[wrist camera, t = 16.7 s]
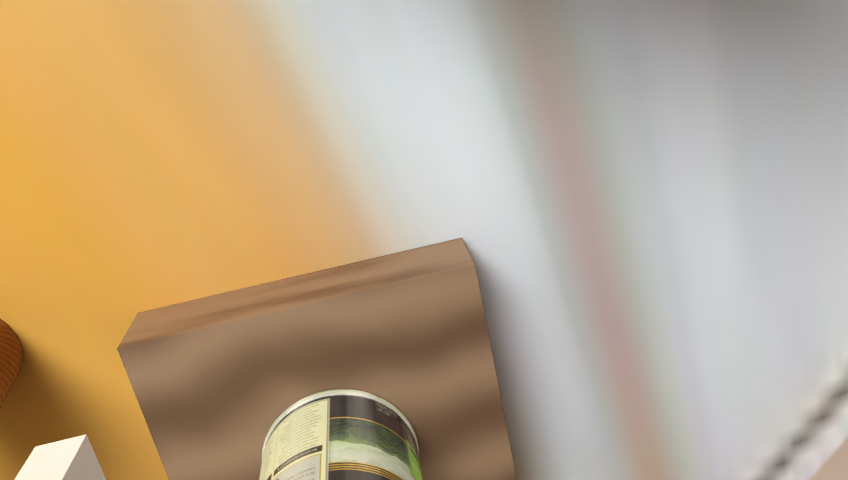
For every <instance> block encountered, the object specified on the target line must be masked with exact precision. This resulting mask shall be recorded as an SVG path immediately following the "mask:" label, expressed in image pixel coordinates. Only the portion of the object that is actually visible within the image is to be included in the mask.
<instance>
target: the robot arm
mask: <svg viewBox="0 0 848 480" xmlns="http://www.w3.org/2000/svg"><path fill="white" fill-rule="evenodd" d="M14 480H106V478H105V476H104V474H103V471H102V469H101V467H100V464H99V462H98V460H97V457H96V455H95V453H94V450H93V448H92V446H91V444H90V441H89V439H88V437H87V434H86V435H82V436H77V437H73V438H69V439H65V440H61V441H56V442H52V443H48V444H44V445H40V446H35V448H34V450H33V451H32V453H31V454H30V456H29V457H28V459H27V461H26V462H25V464H24V465H23V467H22V468H21V470H20V472H19V473H18V475H17V476H16V478H15V479H14Z"/></svg>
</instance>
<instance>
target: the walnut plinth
mask: <svg viewBox="0 0 848 480" xmlns="http://www.w3.org/2000/svg"><path fill="white" fill-rule="evenodd" d="M117 349H118V352H119V354H120V357H121V359H122V362H123V364H124V367H125V369H126V372H127V375H128V377H129V380H130V382H131V385H132V387H133V390H134V392H135V395H136V397H137V400H138V402H139V405H140V407H141V410H142V412H143V415H144V417H145V420H146V422H147V425H148V428H149V430H150V433H151V435H152V438H153V440H154V443H155V445H156V448H157V450H158V453H159V455H160V458H161V460H162V463H163V465H164V468H165V470H166V473H167V476H168V478H169V480H259V477H260V471H261V464H262V448H263V445H264V441H265V438H266V436H267V433H268V432H269V430H270V428H271V426H272V424H273V423H274V421H275V420H276V419H277V418H278V417H279V416H280V415H281V414H282V413H283V412H284V411H285V410H286V409H287V408H289V407H290V406H291V405H293V404H294V403H296V402H297V401H299V400H301V399H303V398H305V397H307V396H310V395H312V394H315V393H318V392H322V391H327V390H335V389H352V390H359V391H364V392H368V393H371V394H374V395H376V396H379V397H381V398H383V399H385V400H387V401H388V402H390V403H391V404H393V405H394V406H395V407H396V408H397V409H399V410H400V411H401V412H402V414H403V415H404V416H405V417H406V418H407V420H408V421H409V422H410V424H411V426H412V428H413V430H414V432H415V435H416V438H417V442H418V448H419V455H418V456H419V461H420V467H421V474H422V479H423V480H517V479H516V473H515V468H514V463H513V458H512V453H511V448H510V442H509V437H508V432H507V427H506V422H505V417H504V412H503V406H502V401H501V396H500V391H499V386H498V381H497V375H496V370H495V365H494V360H493V355H492V350H491V344H490V339H489V334H488V329H487V324H486V319H485V314H484V308H483V303H482V298H481V293H480V288H479V283H478V277H477V272H476V267H475V264H474V262H473V260H472V258H471V256H470V253H469V251H468V249H467V247H466V245H465V243H464V241H463V239H462V238H459V239H454V240H450V241H446V242H441V243H437V244H433V245H429V246H424V247H420V248H416V249H411V250H407V251H403V252H399V253H394V254H390V255H386V256H381V257H377V258H373V259H368V260H364V261H360V262H356V263H351V264H347V265H343V266H338V267H334V268H330V269H325V270H321V271H317V272H313V273H308V274H304V275H300V276H295V277H291V278H287V279H282V280H278V281H274V282H270V283H265V284H261V285H257V286H252V287H248V288H244V289H240V290H235V291H231V292H227V293H222V294H218V295H214V296H209V297H205V298H201V299H197V300H192V301H188V302H184V303H179V304H175V305H171V306H166V307H162V308H158V309H154V310H149V311H145V312H141V313H138V314H137V316H136V317H135V319H134V321H133V322H132V324H131V326H130V328H129V329H128V331H127V333H126V334H125V336H124V338H123V340H122V341H121V343H120V345H119V346H118V348H117Z"/></svg>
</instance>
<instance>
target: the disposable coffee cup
mask: <svg viewBox="0 0 848 480" xmlns="http://www.w3.org/2000/svg"><path fill="white" fill-rule="evenodd" d="M22 361H23V352H22V348H21V344H20V342H19V340H18V338H17V336H16V334H15V333H14V332H13V331H12V329H11V328H10V327H9V326H8V325H7V324H6V323H5V322H3V321H2V320H0V409H1V407H2V404H3V403H4V400H5V398H6V397H7V394H8V393H9V391H10V388H11V386H12V384H13V382H14V381H15V379H16V377H17V375H18V373H19V371H20V369H21V366H22Z"/></svg>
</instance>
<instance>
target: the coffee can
mask: <svg viewBox="0 0 848 480" xmlns="http://www.w3.org/2000/svg"><path fill="white" fill-rule="evenodd" d="M418 455H419V448H418V442H417V438H416V435H415V432H414V430H413V428H412V426H411V424H410V422H409V421H408V420H407V418H406V417H405V416H404V415H403V414H402V412H401V411H400V410H399V409H397V408H396V407H395V406H394V405H393V404H391V403H390V402H388V401H387V400H385V399H383V398H381V397H379V396H376V395H374V394H371V393H368V392H364V391H359V390H352V389H335V390H327V391H322V392H318V393H315V394H312V395H310V396H307V397H305V398H303V399H301V400H299V401H297V402H296V403H294V404H293V405H291V406H290V407H289V408H287V409H286V410H285V411H284V412H283V413H282V414H281V415H280V416H279V417H278V418H277V419H276V420H275V421H274V423H273V424H272V426H271V428H270V430H269V432H268V433H267V436H266V438H265V441H264V445H263V448H262V464H261V471H260V477H259V480H423V479H422V474H421V467H420V461H419V456H418Z"/></svg>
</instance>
